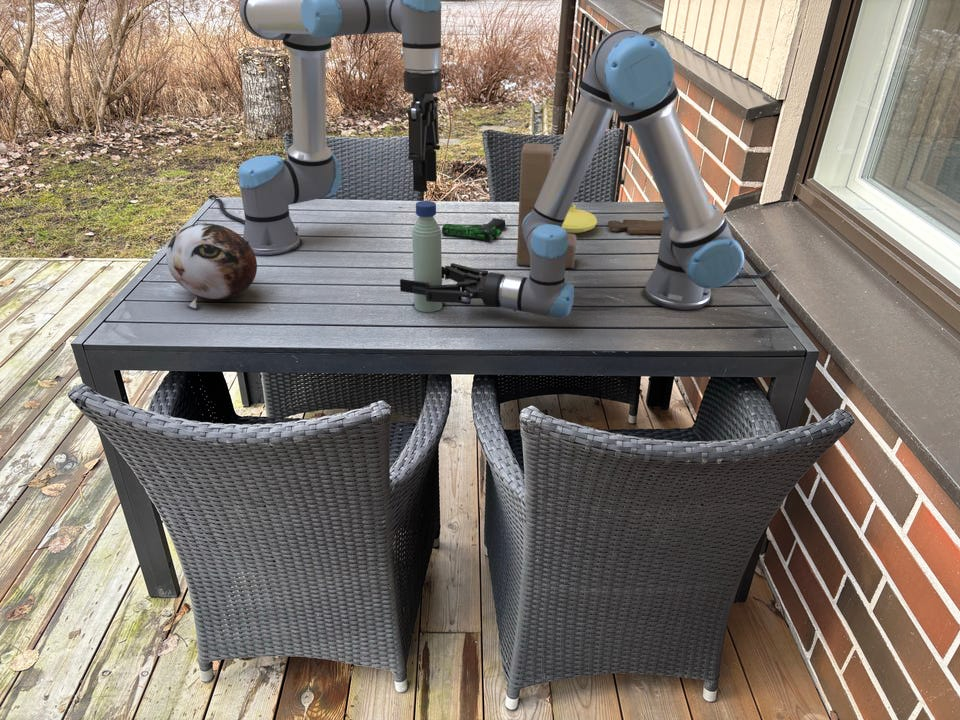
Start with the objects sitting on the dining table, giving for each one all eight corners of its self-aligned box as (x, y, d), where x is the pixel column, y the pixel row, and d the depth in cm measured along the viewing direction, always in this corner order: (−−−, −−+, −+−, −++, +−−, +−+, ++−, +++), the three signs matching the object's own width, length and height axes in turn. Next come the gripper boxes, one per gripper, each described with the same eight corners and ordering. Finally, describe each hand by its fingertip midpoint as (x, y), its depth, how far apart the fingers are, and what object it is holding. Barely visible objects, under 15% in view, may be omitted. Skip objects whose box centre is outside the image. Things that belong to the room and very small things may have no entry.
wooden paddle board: (699, 237, 207) (691, 225, 216) (700, 231, 206) (692, 220, 215) (610, 234, 207) (606, 222, 216) (611, 228, 207) (607, 217, 215)
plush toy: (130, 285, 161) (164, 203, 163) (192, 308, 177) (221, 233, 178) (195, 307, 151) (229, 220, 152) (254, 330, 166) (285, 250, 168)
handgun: (511, 219, 210) (493, 234, 198) (511, 228, 211) (492, 244, 199) (461, 212, 215) (440, 226, 203) (461, 221, 217) (440, 236, 204)
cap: (436, 217, 153) (435, 207, 152) (415, 217, 153) (415, 207, 152) (436, 210, 157) (435, 200, 156) (416, 210, 157) (416, 200, 156)
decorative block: (573, 269, 185) (584, 153, 170) (516, 265, 187) (521, 149, 171) (574, 258, 192) (584, 145, 176) (518, 254, 193) (523, 142, 178)
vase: (559, 216, 220) (561, 193, 217) (605, 227, 212) (608, 204, 209) (532, 230, 209) (533, 207, 206) (580, 242, 201) (582, 218, 198)
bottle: (442, 312, 164) (440, 210, 151) (414, 312, 163) (410, 210, 151) (442, 299, 169) (440, 200, 157) (415, 300, 169) (411, 200, 157)
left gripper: (418, 62, 149) (421, 171, 161) (387, 77, 132) (393, 198, 144) (453, 63, 147) (453, 174, 159) (426, 79, 131) (429, 201, 143)
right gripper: (487, 328, 151) (390, 311, 157) (516, 287, 169) (427, 273, 175) (488, 295, 147) (388, 280, 153) (517, 257, 165) (426, 244, 171)
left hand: (425, 185), depth 152 cm, fingers open, 6 cm apart
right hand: (409, 276), depth 164 cm, fingers open, 9 cm apart
